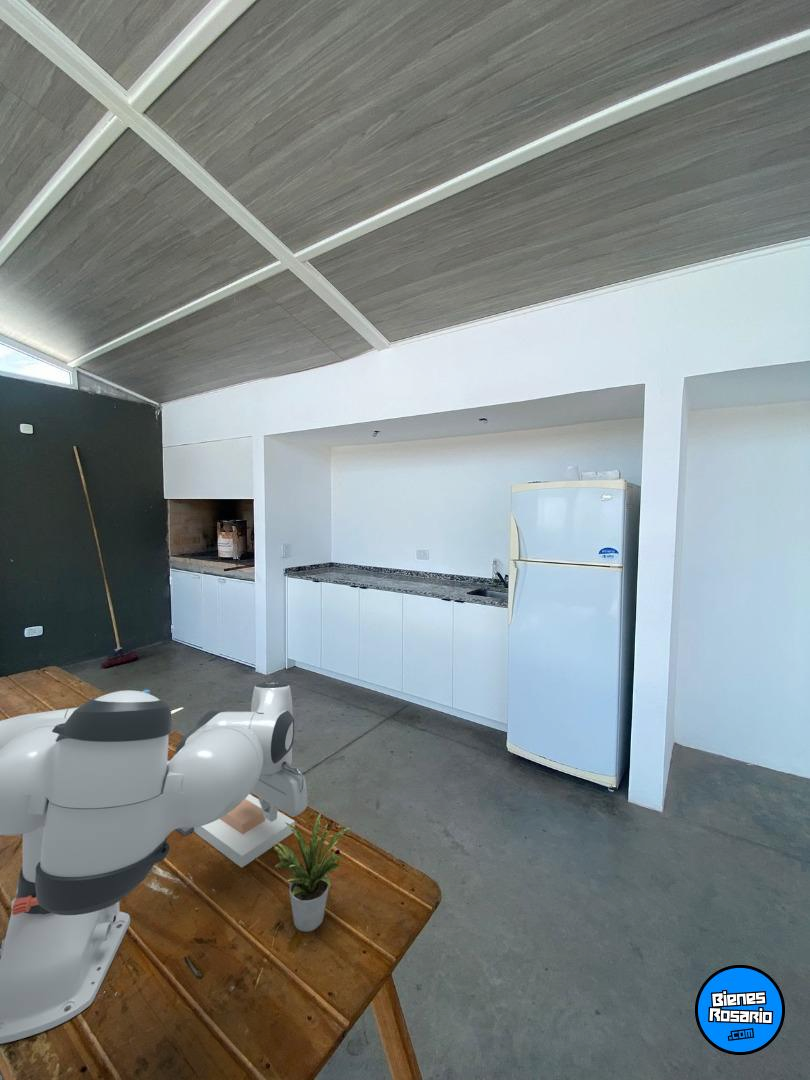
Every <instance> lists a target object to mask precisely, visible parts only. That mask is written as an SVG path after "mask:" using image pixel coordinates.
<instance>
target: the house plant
mask: <svg viewBox="0 0 810 1080" xmlns="http://www.w3.org/2000/svg"><path fill="white" fill-rule="evenodd" d="M321 816H322V812H321V811H320V812H319V813H318V815H317V818H316V821H315V822H314V826H313V827H314V828H313V831H312V835H311V836H310V835H308V836H309V845H308V846H307V844H306V841H305V839H304V837H303V834H302V833H301V832H300V830H299V829H297V828H296V827H295V828H294V827H293V826H292V825H290V824H288V823H286V822H285V823H286V824H287V825H288V826H289V828H290V829H291V830H292V831H293V833H292V834H293V835H294V836H295V837H296V840H297V842H298V846H299V849H300V851H301V855H302V859H303V861H304V862H303V863H304V865H305V866H303V864H302V863H301V861H300V859H299V857H298V856H297V854H296V853H295V852H294V851H293V850H292V849H291V848H290V846H287V845H285V844H282V843H280V842H279V843H274V844H276V845H273V844H272V845H273V847H272V848H273V849H274V850H275V851H276V853H277V855H278V857H279V860H280V862H278V863H276V865H275V866H274V867H275V868H284V869H288V870H289V871H290V873H291V874H292V875H293V876H294V877H293V878H289V879H287V880H284V882H285V883H290V884H289V889H288V891H289V897H290V898H289V899H290V906H291V912H292V919H293V923H294V926H295V928H296V929H297V930H298V931H301V932H305V933H306V932H312V931H314V930H315V929H317V928H319V926H320V925H321V924H322V923H323V920H324V917H325V909H326V905H327V899H328V894H329V889H330V888H331V884H332V879H331V878H330V877H328V876H327V875H328V874H329V873H331V872H333V871H334V870H336V869H337V868H339V867H341V865H340V864H338V863H336V862H338V861H339V860H342V858H341V856H339V855H338V854H337V853H336V854H335V852H336V851H337V850H339V847H337V848H336V849H335V850H334V851H332V853H331V854H330V855H329V856H328V854H329V852H331V850H332V849H333V848H334V846H335V845H336V844H337V842H338V841H339V840H340V838H341V837H342V836H343V835H344V834H345V833H346V832H348V831H349V830H351V829H353V828H354V826H350V827H345V828H344V829H341V830H340V831H338V832H337V833H336V834H329V835H327V830H328V826H329V823H326V825H325V826H324V829H323V831H322V835H319V832H320V831H319V830H320V827H321ZM326 835H327V836H326ZM332 837H333V838H332ZM330 838H332V839H331V840H330V841H329V842H328V845H327V847H326V848H325V851H324V852H323V847H324V843H325V841H326V840H328V839H330ZM278 846H279V847H278ZM322 852H323V854H322ZM327 856H328V857H327Z"/></svg>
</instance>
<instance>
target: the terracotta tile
mask: <svg viewBox="0 0 810 1080" xmlns="http://www.w3.org/2000/svg"><path fill="white" fill-rule="evenodd" d="M220 819H221V820H222V821H224V822H225V823H227V824H228V825H230V826H231V827H233V828H234V829H235V830H237V831H238V832H240V833H241V834H244V833H246V832H247V831H249V830H251V829H252V828H254V827H255V826H257V825H259V824H260V823H262V822H264V821H265V818H264V817H263V816H262V809H261V808H260V807H258V806H256V805H255V804H253V803H251V802H250V801H248V800H247V799H244V800H243V801H242V802H241V803H240V804H239V805H238V806H237V807H236V808H234V809H233V810H232V811H231V812H229V813H228V814H226V815H225V816H223V817H222V818H220Z"/></svg>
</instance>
